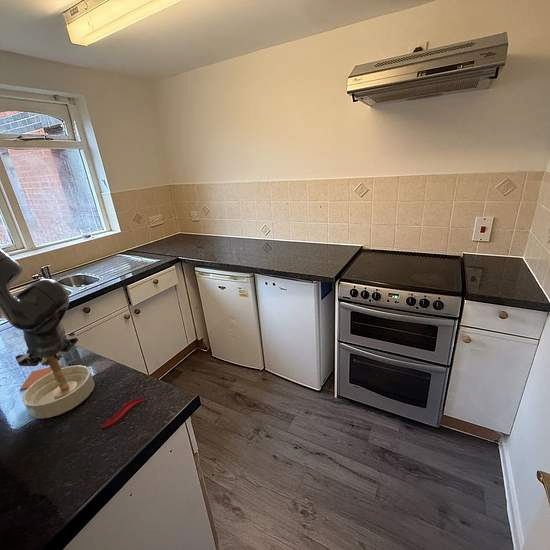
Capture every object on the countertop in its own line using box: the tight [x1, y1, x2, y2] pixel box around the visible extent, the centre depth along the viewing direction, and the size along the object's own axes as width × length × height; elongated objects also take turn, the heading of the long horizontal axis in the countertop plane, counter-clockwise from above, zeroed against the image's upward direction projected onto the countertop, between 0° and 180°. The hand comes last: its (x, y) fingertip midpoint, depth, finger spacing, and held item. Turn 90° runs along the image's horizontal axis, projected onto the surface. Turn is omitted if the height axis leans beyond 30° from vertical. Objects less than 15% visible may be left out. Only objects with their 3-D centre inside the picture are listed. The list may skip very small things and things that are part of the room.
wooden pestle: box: [48, 355, 78, 400], centre depth 83 cm, size 6×6×15 cm
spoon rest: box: [19, 363, 64, 391], centre depth 97 cm, size 9×9×1 cm
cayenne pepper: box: [99, 398, 147, 429], centre depth 79 cm, size 12×5×2 cm, turn 130°
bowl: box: [21, 364, 96, 420], centre depth 86 cm, size 16×16×5 cm
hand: (51, 360), depth 83 cm, fingers closed on wooden pestle
